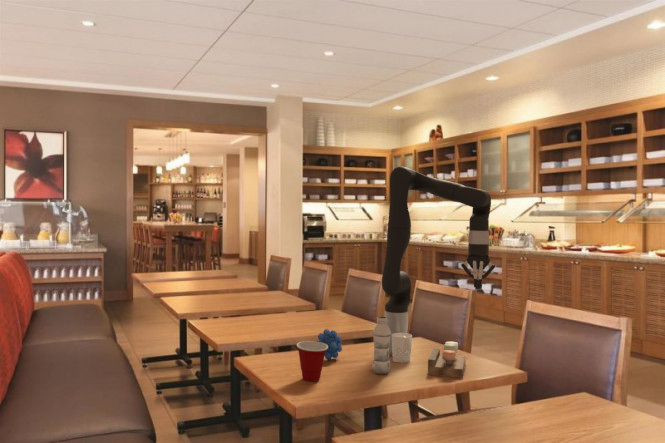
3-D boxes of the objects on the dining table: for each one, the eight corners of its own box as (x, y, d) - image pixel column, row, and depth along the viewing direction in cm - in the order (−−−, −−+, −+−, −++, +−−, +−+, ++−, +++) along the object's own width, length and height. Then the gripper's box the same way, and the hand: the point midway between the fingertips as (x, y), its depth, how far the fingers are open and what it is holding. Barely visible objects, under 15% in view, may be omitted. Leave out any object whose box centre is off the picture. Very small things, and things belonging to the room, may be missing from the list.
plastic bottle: (392, 371, 208) (393, 316, 207) (387, 376, 201) (388, 319, 201) (374, 369, 210) (375, 315, 209) (369, 374, 203) (370, 318, 203)
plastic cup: (316, 386, 189) (316, 349, 189) (289, 380, 195) (290, 345, 195) (333, 378, 198) (334, 343, 198) (307, 373, 204) (308, 339, 204)
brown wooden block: (427, 374, 205) (428, 359, 205) (433, 361, 222) (433, 347, 222) (462, 377, 202) (462, 362, 201) (465, 364, 219) (465, 350, 219)
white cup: (410, 363, 219) (411, 337, 219) (390, 362, 220) (390, 336, 220) (412, 358, 227) (412, 333, 226) (392, 357, 228) (392, 332, 228)
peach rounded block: (441, 365, 204) (441, 352, 204) (442, 361, 209) (443, 349, 208) (454, 366, 203) (455, 353, 203) (455, 362, 207) (456, 350, 207)
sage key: (443, 358, 210) (443, 346, 210) (444, 355, 214) (444, 343, 214) (456, 359, 209) (456, 347, 209) (457, 356, 213) (457, 344, 213)
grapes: (322, 364, 216) (322, 332, 216) (312, 360, 222) (313, 329, 221) (347, 360, 222) (348, 329, 222) (338, 356, 228) (338, 326, 228)
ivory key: (444, 355, 216) (444, 343, 216) (445, 352, 220) (445, 341, 220) (457, 356, 214) (457, 344, 214) (458, 353, 219) (458, 342, 219)
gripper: (497, 242, 218) (496, 288, 219) (461, 241, 222) (460, 286, 222) (496, 243, 211) (495, 291, 212) (459, 242, 215) (459, 289, 215)
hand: (477, 288), depth 217 cm, fingers closed
